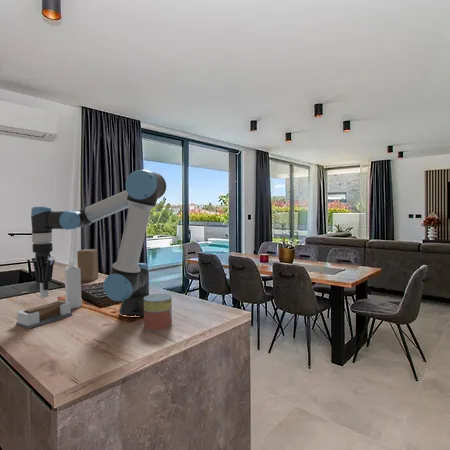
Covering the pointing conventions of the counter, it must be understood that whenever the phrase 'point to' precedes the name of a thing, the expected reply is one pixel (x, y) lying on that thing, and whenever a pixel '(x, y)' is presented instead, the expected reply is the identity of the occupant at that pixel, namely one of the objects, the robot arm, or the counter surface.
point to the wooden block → (88, 264)
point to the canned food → (157, 312)
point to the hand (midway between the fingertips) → (44, 297)
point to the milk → (73, 285)
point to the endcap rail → (33, 319)
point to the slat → (46, 310)
